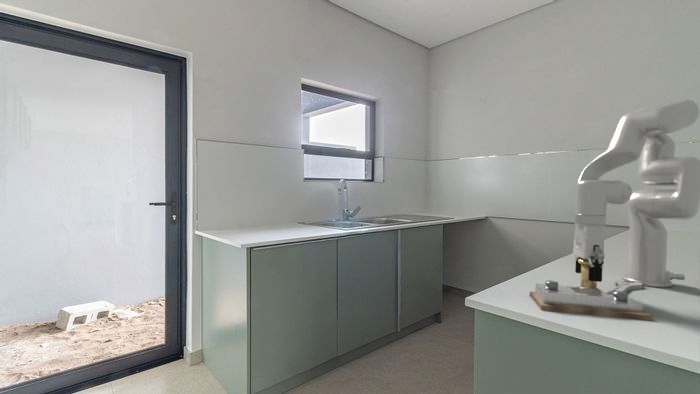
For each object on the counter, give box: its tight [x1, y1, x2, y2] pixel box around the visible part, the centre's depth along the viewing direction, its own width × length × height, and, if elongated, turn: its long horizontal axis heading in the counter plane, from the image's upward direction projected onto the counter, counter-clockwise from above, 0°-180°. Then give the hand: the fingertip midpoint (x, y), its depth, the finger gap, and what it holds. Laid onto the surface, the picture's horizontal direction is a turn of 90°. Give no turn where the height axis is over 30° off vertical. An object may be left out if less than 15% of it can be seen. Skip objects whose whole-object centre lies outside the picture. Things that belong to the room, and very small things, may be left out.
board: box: [529, 291, 654, 321], centre depth 88 cm, size 24×12×1 cm, turn 74°
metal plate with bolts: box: [534, 279, 644, 312], centre depth 88 cm, size 22×8×5 cm, turn 74°
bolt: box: [578, 258, 598, 288], centre depth 100 cm, size 6×6×10 cm
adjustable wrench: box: [605, 279, 643, 295], centre depth 102 cm, size 25×6×2 cm, turn 123°
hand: (587, 276), depth 100 cm, fingers open, 9 cm apart
